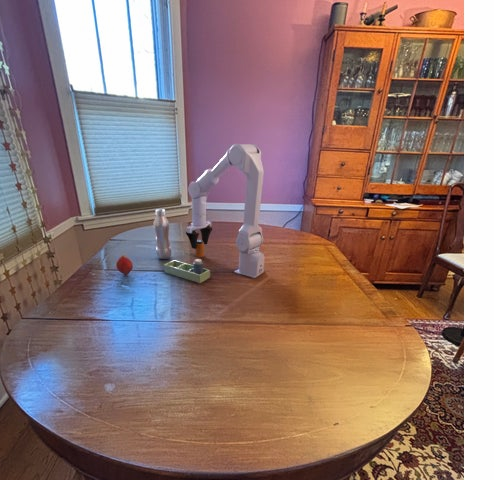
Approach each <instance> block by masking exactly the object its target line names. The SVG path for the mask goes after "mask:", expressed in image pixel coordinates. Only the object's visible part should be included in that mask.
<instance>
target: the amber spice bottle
mask: <svg viewBox="0 0 494 480" xmlns="http://www.w3.org/2000/svg"><path fill="white" fill-rule="evenodd" d="M195 257H197V258H202V257H204V258H205V244H204V243H203V241H202V239H197V249H195Z"/></svg>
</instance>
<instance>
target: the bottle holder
mask: <svg viewBox="0 0 494 480" xmlns="http://www.w3.org/2000/svg"><path fill="white" fill-rule="evenodd" d="M163 272H164V273H167V274H170V275H173V276H176V277H179V278H183V279H185V280H188V281H192V282H194V283H198V284H201V283H203V282H205V281H207V280H208V279H210V278H211V270H210V269H208V268H204V267H203V273H201V274H200V275H199V274H196V273H193V264H190V263H187V262H183V261H181V260H177V259H174V260H171V261H169V262H167V263H164V264H163Z"/></svg>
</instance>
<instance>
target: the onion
mask: <svg viewBox="0 0 494 480" xmlns="http://www.w3.org/2000/svg"><path fill="white" fill-rule="evenodd" d="M115 266H116V269H117V271H118V272H119V273H121V274H123V275H125V276H128V275H129V274H130V273H131V271H132V270H133V268H134V265H133V262H132V260H131V259H130V258H128V257H127V256H126V255H125V254H122V255H121V256H120V257H119V258H118V259H117V262H116V265H115Z"/></svg>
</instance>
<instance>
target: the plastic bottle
mask: <svg viewBox="0 0 494 480" xmlns="http://www.w3.org/2000/svg"><path fill="white" fill-rule="evenodd" d="M155 216H156V217H155V218H154V220H153V228H154V233H155V240H156V248H155V254H156V258H158V259H160V260H168V259H170V258H171V257H172V249H171V245H170V244H171V243H170V222H169V220H168V218H167V217H166V209H164V208H159V209H158V208H157V209H155Z"/></svg>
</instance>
